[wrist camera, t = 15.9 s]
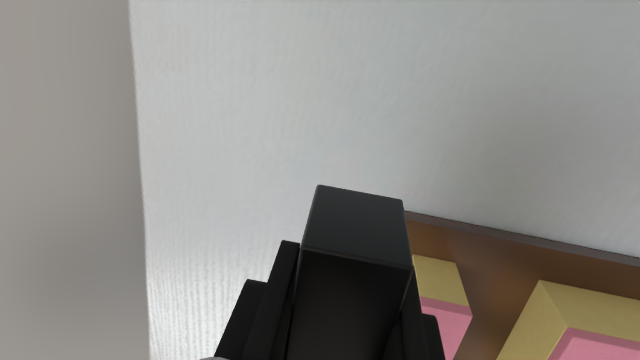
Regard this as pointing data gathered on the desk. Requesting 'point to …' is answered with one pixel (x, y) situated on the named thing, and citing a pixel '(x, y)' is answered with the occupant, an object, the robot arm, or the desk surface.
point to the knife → (349, 277)
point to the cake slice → (443, 299)
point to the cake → (574, 326)
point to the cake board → (512, 274)
